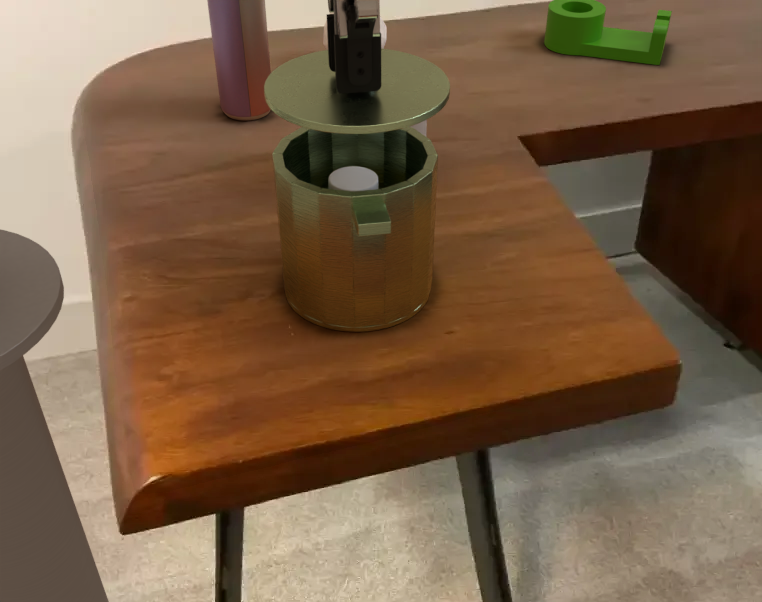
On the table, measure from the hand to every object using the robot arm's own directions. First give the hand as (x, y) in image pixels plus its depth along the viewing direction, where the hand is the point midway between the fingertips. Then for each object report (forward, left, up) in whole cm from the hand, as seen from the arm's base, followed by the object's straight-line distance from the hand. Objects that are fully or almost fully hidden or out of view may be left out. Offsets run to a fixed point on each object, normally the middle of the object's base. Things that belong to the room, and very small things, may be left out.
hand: (354, 77), depth 67 cm
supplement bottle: (0, 0, -18) cm, 18 cm away
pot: (0, 0, -19) cm, 19 cm away
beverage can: (-7, +36, -19) cm, 41 cm away
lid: (0, 0, -1) cm, 1 cm away
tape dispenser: (+39, +46, -19) cm, 63 cm away
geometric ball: (+7, +46, -19) cm, 50 cm away
